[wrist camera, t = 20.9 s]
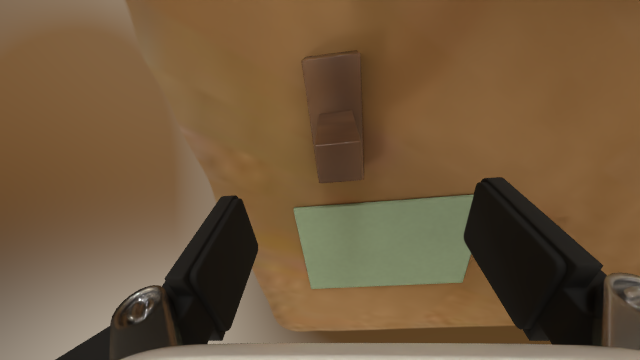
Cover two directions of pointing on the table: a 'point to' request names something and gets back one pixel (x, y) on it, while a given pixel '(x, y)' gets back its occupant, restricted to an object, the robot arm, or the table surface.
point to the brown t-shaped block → (335, 114)
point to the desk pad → (385, 242)
